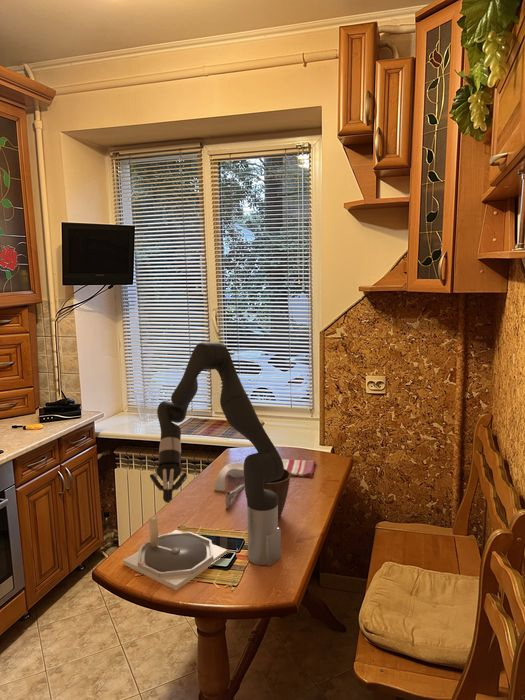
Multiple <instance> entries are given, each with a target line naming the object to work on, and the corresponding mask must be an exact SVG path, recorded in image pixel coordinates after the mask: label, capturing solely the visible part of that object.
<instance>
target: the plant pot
mask: <svg viewBox="0 0 525 700" xmlns="http://www.w3.org/2000/svg"><path fill="white" fill-rule="evenodd" d="M290 478H291V476H290V472H289V471H287V470H286V469H284V474H283V476H282V478H280V479H278V480H275V481H272V482H269V483H266V484H264V489H267V490H271V491H273V492H275V493H276V494H277V497H278V521H279V519H280V518H281V516H282V514H283V510H284V508H285V505H286V502H287V498H288V497H287V496H288V492H289V487H290V480H291V479H290Z"/></svg>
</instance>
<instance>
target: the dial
mask: <svg viewBox="0 0 525 700" xmlns="http://www.w3.org/2000/svg"><path fill="white" fill-rule="evenodd" d="M158 523H159V521H158V516H153V515H152V516H150V517H148V528H149V529H148V531H149V541H150V546H149V547H148V548H147V550H146V551H145V562H146V564H147V565H148V566H149V567H151V568H153V569H155V570H157V571H161V572H167V571H177V570H187V569H191V568H193V567H195V566H196V565H198V564H199V563H201V562H202V561H203V560H204V559H205V557H206V555H207V547H206V545H205V544H204V542H202V541H201V540H199V539H197V538H194V537H190V536H172V537H167V538H163V539H161V540H159V539H158V536H159V524H158Z"/></svg>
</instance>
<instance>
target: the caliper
mask: <svg viewBox="0 0 525 700" xmlns="http://www.w3.org/2000/svg"><path fill="white" fill-rule="evenodd" d="M244 489H245V484H240V485H239V486H237V487H236V488H235V489H234V490H227V491H226V495H225V508H226V509H229V508H230V507H231V503H232V500H234V498H235V496H236V495H238V493H240V492H241V491H242V490H244Z"/></svg>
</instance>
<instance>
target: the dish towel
mask: <svg viewBox="0 0 525 700" xmlns="http://www.w3.org/2000/svg"><path fill="white" fill-rule="evenodd" d="M281 459H282V462H283V465H284V469H286V470H287V471H289V472H290V477H296V476H299V478H310V477H312V478H313V475H312V474H314V471H315V466H316V461H315V460H314V459H311V460H310V459H309V460H305V459H304V460H303V459H302V460H299V459H287V458H286V459H285V458H281ZM314 465H315V466H314ZM301 476H302V477H301Z"/></svg>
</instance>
